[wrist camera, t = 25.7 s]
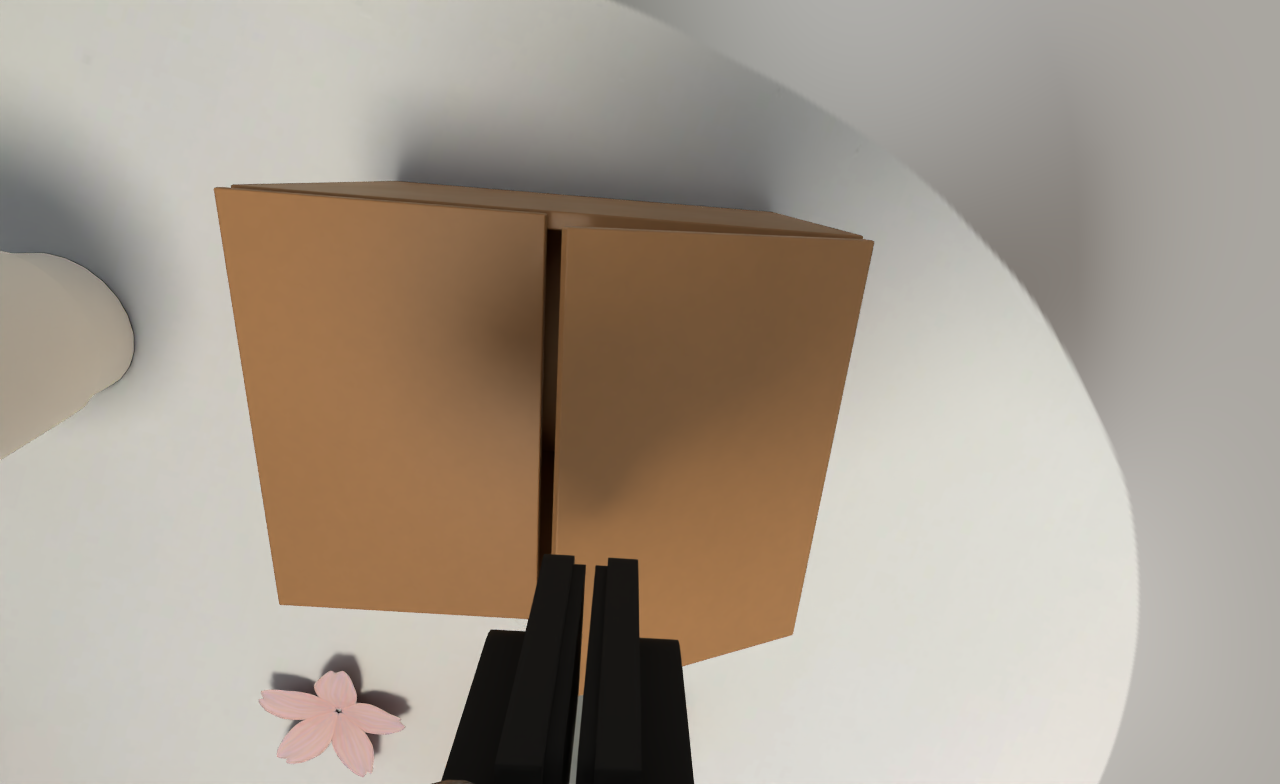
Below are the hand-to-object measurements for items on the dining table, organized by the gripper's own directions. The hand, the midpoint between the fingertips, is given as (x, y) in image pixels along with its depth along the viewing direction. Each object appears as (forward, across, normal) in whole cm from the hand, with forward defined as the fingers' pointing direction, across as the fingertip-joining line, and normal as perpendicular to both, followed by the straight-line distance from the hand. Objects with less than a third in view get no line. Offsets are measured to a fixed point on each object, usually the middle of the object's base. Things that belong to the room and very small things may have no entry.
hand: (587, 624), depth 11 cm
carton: (+20, +2, 0) cm, 20 cm away
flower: (+20, +16, +25) cm, 36 cm away
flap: (+6, -3, 0) cm, 7 cm away
